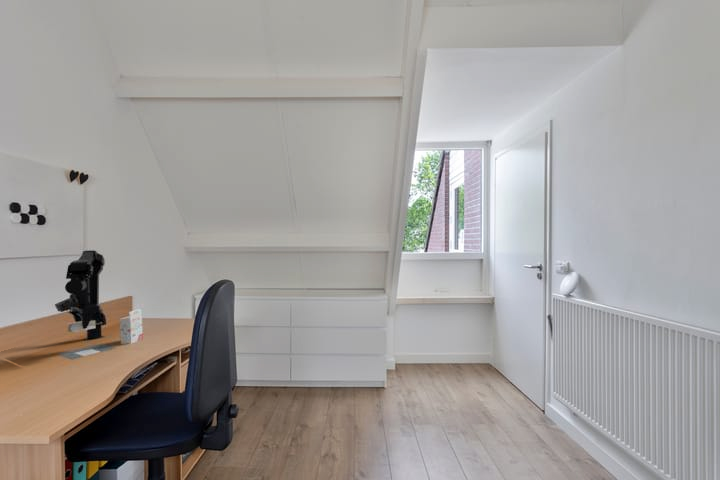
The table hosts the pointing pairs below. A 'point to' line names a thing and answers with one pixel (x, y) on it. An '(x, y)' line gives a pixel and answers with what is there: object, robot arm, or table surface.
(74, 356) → the charcoal mat
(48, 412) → the table surface
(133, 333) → the ink cartridge box
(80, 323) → the off-white banded block
